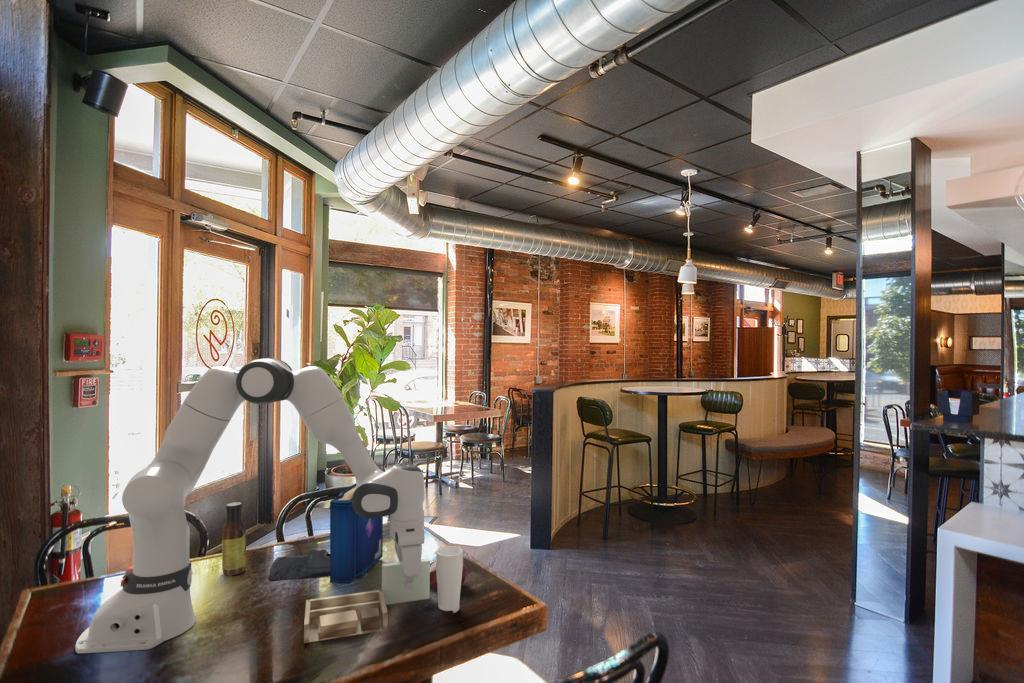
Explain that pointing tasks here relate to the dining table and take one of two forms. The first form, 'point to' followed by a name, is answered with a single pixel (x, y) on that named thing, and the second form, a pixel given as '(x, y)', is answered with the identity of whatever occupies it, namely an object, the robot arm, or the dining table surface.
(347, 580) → the book
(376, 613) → the offcut small
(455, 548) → the drinking glass
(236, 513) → the sauce bottle
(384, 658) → the dining table surface
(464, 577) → the heart
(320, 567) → the dark slate chunk
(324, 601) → the rack
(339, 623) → the offcut top
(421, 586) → the sheet
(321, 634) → the offcut low
